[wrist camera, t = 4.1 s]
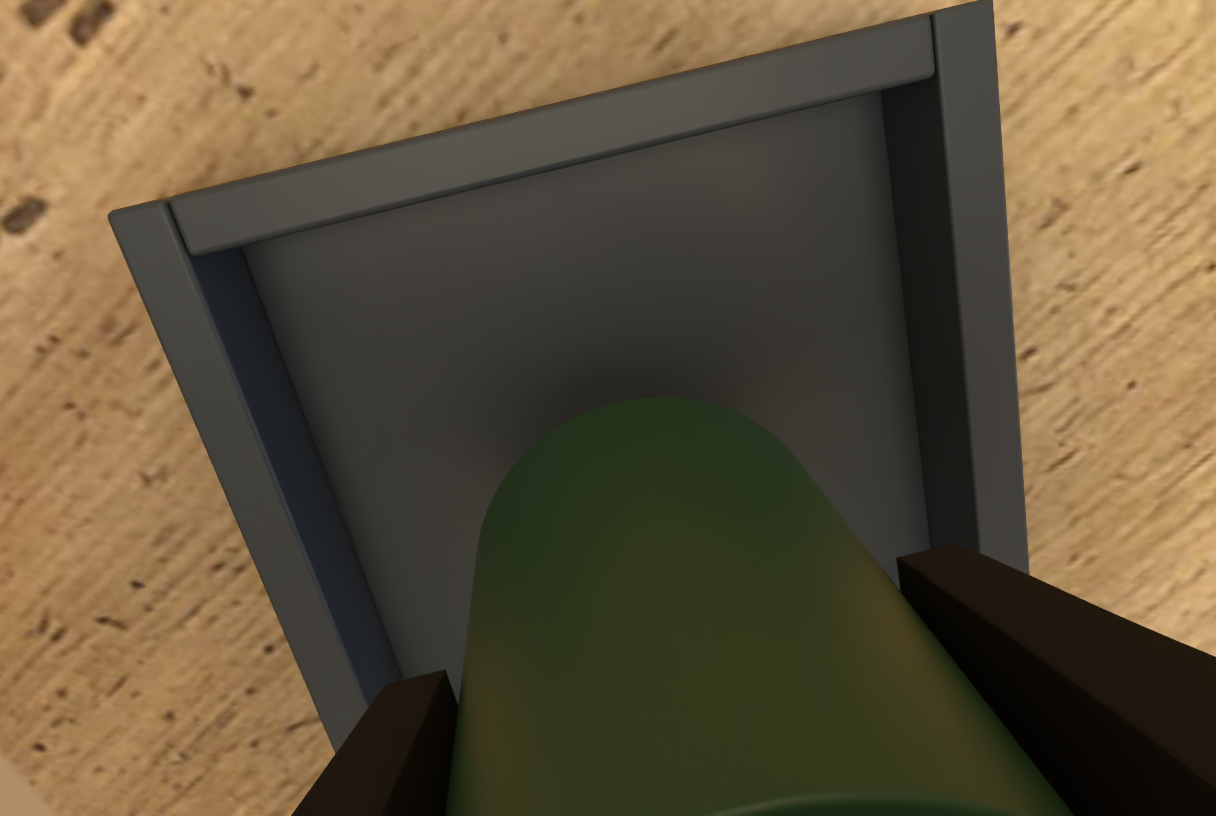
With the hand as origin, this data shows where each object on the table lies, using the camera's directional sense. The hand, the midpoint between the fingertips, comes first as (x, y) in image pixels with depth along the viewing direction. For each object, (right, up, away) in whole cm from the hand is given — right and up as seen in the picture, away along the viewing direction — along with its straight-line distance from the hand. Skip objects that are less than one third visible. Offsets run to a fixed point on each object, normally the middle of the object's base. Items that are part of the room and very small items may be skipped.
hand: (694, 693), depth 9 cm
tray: (+1, -3, +8) cm, 9 cm away
